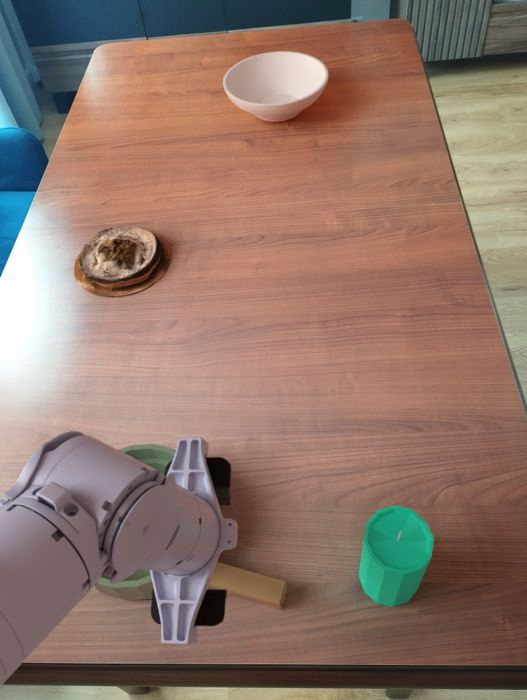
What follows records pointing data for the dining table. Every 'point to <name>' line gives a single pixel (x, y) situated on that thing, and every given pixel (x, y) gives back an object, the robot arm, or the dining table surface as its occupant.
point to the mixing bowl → (141, 579)
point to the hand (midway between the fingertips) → (217, 546)
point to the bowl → (276, 84)
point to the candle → (394, 555)
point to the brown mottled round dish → (122, 261)
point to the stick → (249, 585)
